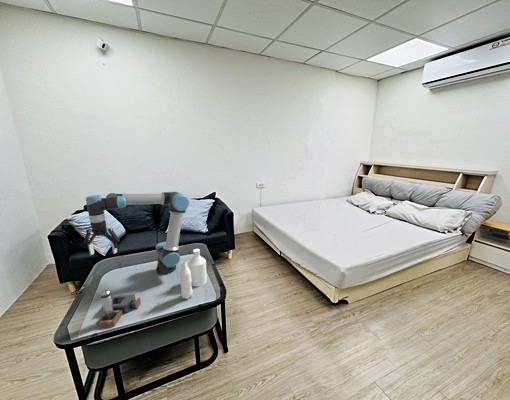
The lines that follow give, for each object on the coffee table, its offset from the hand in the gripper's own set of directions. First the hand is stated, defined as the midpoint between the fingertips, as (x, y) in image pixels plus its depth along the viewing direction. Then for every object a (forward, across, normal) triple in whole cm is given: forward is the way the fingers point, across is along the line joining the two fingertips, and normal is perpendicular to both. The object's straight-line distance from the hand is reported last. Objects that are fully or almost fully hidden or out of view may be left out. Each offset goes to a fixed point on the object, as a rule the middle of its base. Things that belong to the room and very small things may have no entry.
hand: (103, 253), depth 134 cm
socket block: (+32, -9, +10) cm, 34 cm away
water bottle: (+32, -49, +4) cm, 59 cm away
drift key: (+31, -17, +10) cm, 37 cm away
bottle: (+32, -54, -12) cm, 64 cm away
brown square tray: (+32, -10, +20) cm, 39 cm away
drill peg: (+31, -10, +20) cm, 39 cm away
